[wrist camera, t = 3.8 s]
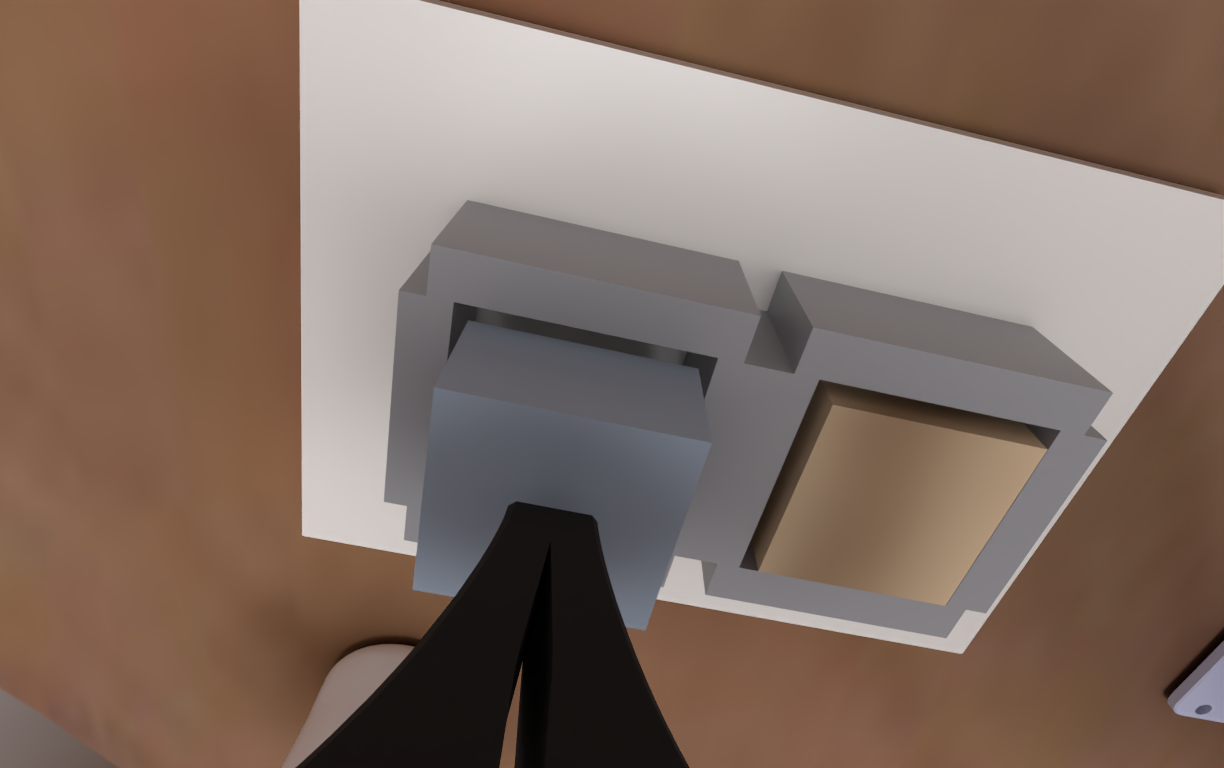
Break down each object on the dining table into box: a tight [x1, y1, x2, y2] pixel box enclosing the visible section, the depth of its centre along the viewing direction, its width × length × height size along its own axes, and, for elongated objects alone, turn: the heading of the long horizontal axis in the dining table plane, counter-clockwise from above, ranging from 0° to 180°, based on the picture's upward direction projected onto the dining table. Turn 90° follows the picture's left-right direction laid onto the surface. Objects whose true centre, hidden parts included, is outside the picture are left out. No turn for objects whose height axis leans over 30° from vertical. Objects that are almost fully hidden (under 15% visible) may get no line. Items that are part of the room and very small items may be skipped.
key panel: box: [299, 0, 1224, 654], centre depth 16 cm, size 20×14×4 cm
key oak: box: [751, 379, 1048, 606], centre depth 15 cm, size 4×4×2 cm
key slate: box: [413, 320, 712, 630], centre depth 13 cm, size 4×4×2 cm
